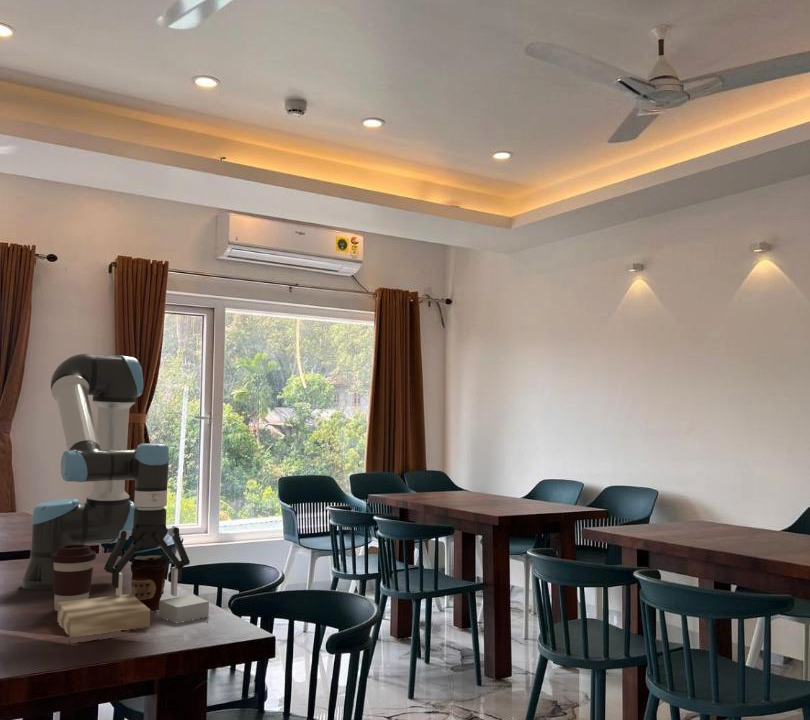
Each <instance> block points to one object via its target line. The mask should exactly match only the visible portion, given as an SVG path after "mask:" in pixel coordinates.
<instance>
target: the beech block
mask: <svg viewBox="0 0 810 720" xmlns="http://www.w3.org/2000/svg"><path fill="white" fill-rule="evenodd" d="M56 619H57V621H56V623H57V622H58V623H59V624H58V623H57V624H58V625H59V626H60V627H61V629H62V628H63V629H64V630H65V631H64V630H63V629H62V630H63V631H64V633H66V635H67V634H68V635H69V636H70V638H71V637H79V636H86V635H93V634H101V633H108V632H114V631H121V630H127V631H130V630H129V629H134V630H136V629H135V628H142V629H144V628H143V627H149V628H150V625H151V612H150V609H149V608H148V607H147V606H145V605H144V604H143V603H142V602H141V601H139V600H138V599H137V598H136V597H135V596H134V595H132V593H129V594H122V595H118V596H116V595H111V596H101V597H94V598H92V597H91V598H88V599H82V600H73V601H64V602H58V612H57V617H56ZM68 635H67V636H68Z"/></svg>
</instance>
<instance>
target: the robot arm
mask: <svg viewBox="0 0 810 720" xmlns="http://www.w3.org/2000/svg"><path fill="white" fill-rule="evenodd" d="M143 376H144V375H143V369H142V366H141V364H140V362H139V360H138V359H137V358H135V357H134V356H126V355H110V354H108V355H107V354H90V353H80V354H75V355H72V356H70V357H69V358H67V359H65V360H63V361H62V362H61V363H60V364H59V365H58V366H57V368H56V369H55V370H54V372H53V374H52V375H51V379H50V391H51V395H52V397H53V400H55V401H56V402H57V405H58V411H59V415H60V418H61V419H60V420H61V425H62V428H63V429H62V430H63V435H64V439H65V443H66V449H67V450H66V451H64V452H63V453H62V454H61V460H60V475H61V478H62V479H63V481H65V482H74V483H76V482H77V483H85V482H86V483H87V482H92V490H91V491H90V492H89V493H88V494H86V498H85V499H86V501H85V503H84V502H83V503H82V502H81V503H80V500H79V499H78V498H75V497H73V498H71V497H70V498H58V499H53V500H49V501H45V502H41V503H39V504H37V505H36V506H35V507H33V511H32V518H31V521H30V523H31V538H30V539H31V540H30V554H29V555H30V556H29V561H28V563H27V566H26V568H25V571H24V574H23V576H22V578H21V589H23V590H26V589H27V590H26V591H53V569H54V562H52V561H51V554H52V553H55V552H57V551H58V548H59V547H60V546H64V545H71V544H84V545H98V544H114V543H115V544H114V547H113V549H112V551H111V553H110V555H109V557H108V559H107V561H106V562H105V565H104V568H103V569H104V571H105V572H107V573H110V574H112V575H111V586H112V588H113V589H115V596H118V595H123V578H124V577H123V573H122V572H121V571H122V570H123V569H124V567H126V565H127V564H128V563H129V561H130V560H131V559H132V558H133V557H134V555H135V554H136V552H138V551H139V549H140V548H143V549H147V548H156V547H158V546H159V547H160V548H161V550H162V551H163V553H165V555H166V556H167V557H168V559H169V560H170V561H171V562H172V563H173V565H174V566H173V567H172V566H171V570H170V571H171V573H170V595H171V596H172V597H178V582H181V580H182V572H183V569H184V567H185V566H188V565H190V561H191V560H190V559H189V556H188V554H187V552H186V549H185V546H184V544H183V542H182V540H181V537H180V527H178V526H175V525H173V526H171V527H168V528H167V509H166V506H167V504H168V503H167V502H168V485H169V484H168V482H169V462H170V455H169V451H170V449H169V446H168V445H167V444H165V443H140V444H138V445H137V446H136V448H133V449H128V438H129V437H128V436H129V433H128V432H129V423H130V422H129V421H130V420H129V419H130V418H129V417H130V409H131V408H132V406H133V405H135V404H136V398H138V397H141V395H142V394H143V390H144V377H143ZM88 396H92V403H93V404H94V405H95V406H96V407H97V415H96V416H97V417H96V423H95V420H94V417H93V412H92V408H91V404H90V400H89V397H88ZM95 424H96V425H95ZM126 481H135V482H134V498H133V501H132V500H130V495H129V494H128V493H127V492H126V491H125V483H126ZM166 535H169V536H170V537H171V538H172V541H173V543H174V546H175V548H176V551H177V553H178V556H179V558H180V559H178V557H177V556H176V554H175V553H174V552H173V551H172V549H171V548H170V547H169V545H168V544H167V543H166V541H165V539H164V538H165V537H166ZM130 536H131V537H132V539H133V541H132V542H131V544H130V546H128V548H127V549H126V551H125V552H124V553H123V555H122V556H121V557H120V558H119V556H120V554H121V552H122V550H123V548H124V546H125V544H126V541H127V540H129V538H130ZM118 558H119V560H118ZM117 560H118V561H117Z"/></svg>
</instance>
